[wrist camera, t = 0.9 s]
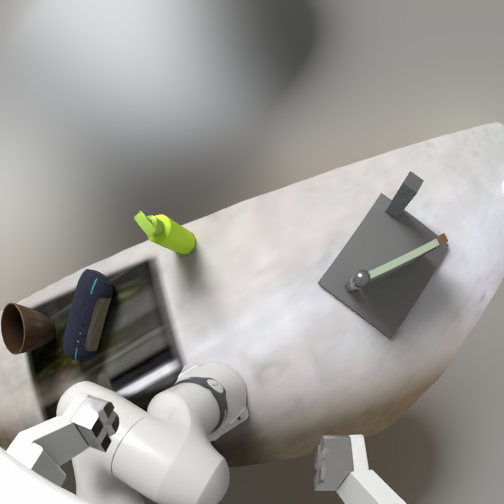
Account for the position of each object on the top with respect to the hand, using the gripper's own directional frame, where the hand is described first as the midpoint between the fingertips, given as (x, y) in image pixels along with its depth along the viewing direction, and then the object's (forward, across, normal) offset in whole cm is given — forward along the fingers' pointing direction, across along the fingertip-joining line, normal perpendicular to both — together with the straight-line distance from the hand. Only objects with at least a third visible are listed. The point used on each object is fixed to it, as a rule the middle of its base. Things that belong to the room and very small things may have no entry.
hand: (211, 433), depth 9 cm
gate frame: (+52, +26, -14) cm, 59 cm away
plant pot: (+48, -68, -43) cm, 94 cm away
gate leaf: (+50, +26, -13) cm, 57 cm away
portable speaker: (+50, -45, -35) cm, 76 cm away
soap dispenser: (+58, -21, -15) cm, 64 cm away
